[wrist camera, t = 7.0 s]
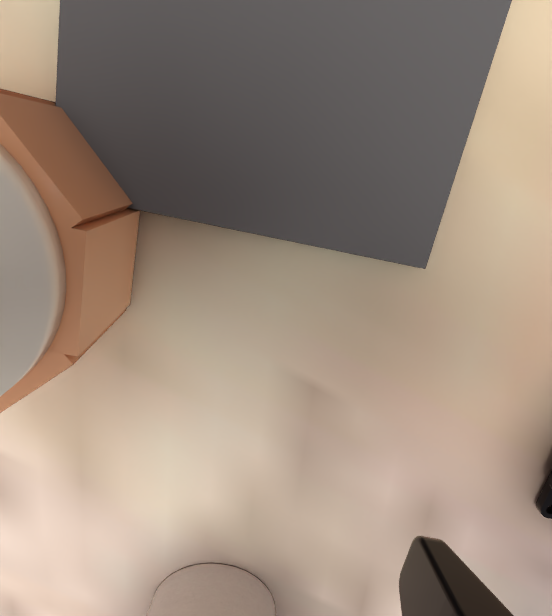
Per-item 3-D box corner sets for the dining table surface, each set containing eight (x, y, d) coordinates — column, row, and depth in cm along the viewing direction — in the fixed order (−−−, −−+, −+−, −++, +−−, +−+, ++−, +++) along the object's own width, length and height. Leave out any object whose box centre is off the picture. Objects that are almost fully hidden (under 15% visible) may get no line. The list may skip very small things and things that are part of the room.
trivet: (565, -192, 13) (578, -208, 12) (420, 265, 17) (425, 269, 17) (84, -328, 12) (75, -352, 12) (59, 191, 17) (51, 192, 16)
